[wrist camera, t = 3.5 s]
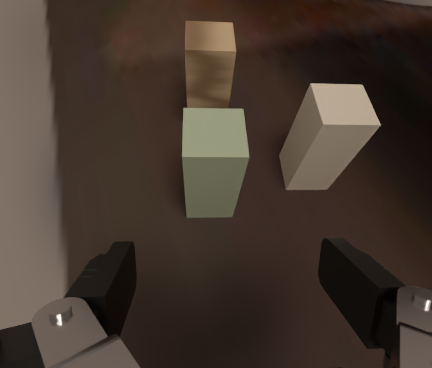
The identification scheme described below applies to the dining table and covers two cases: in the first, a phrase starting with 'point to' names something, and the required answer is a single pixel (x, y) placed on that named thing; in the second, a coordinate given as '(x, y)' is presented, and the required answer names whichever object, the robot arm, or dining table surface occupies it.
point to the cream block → (326, 135)
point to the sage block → (213, 160)
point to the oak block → (209, 63)
